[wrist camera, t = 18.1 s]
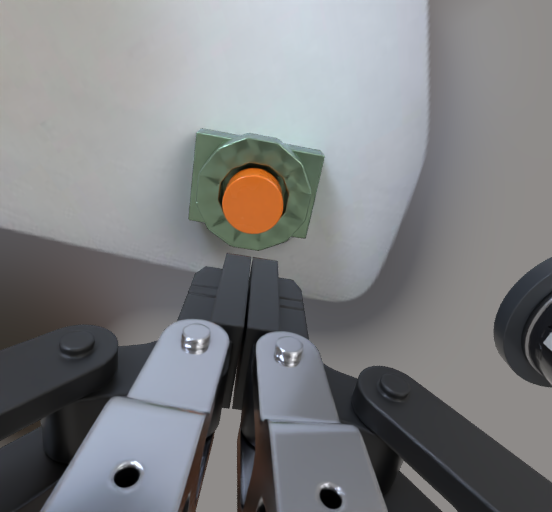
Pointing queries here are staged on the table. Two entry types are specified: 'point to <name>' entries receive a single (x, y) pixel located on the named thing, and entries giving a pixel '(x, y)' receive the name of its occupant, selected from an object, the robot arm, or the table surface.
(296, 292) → the robot arm
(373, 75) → the table surface
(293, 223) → the button box
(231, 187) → the button
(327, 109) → the table surface
